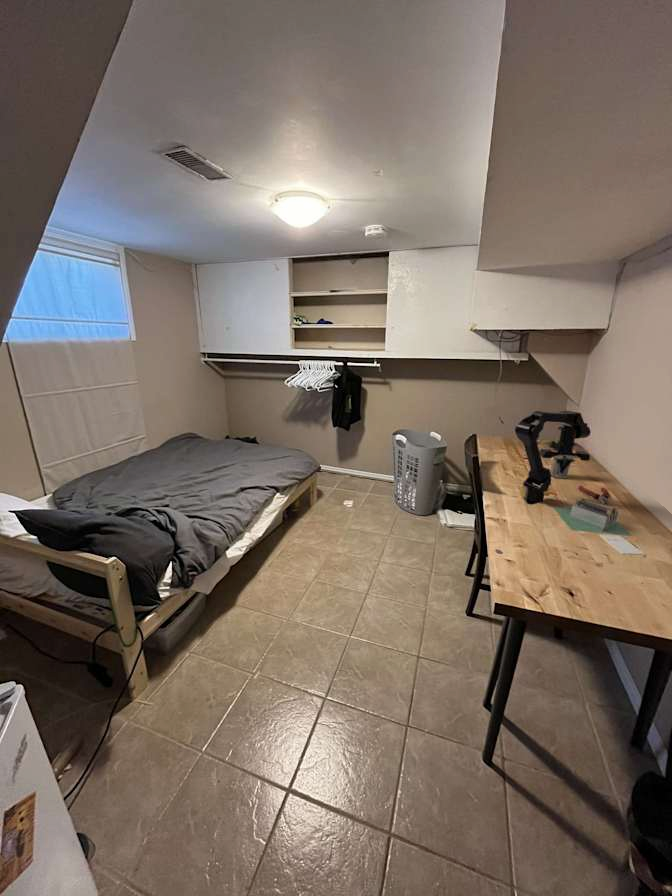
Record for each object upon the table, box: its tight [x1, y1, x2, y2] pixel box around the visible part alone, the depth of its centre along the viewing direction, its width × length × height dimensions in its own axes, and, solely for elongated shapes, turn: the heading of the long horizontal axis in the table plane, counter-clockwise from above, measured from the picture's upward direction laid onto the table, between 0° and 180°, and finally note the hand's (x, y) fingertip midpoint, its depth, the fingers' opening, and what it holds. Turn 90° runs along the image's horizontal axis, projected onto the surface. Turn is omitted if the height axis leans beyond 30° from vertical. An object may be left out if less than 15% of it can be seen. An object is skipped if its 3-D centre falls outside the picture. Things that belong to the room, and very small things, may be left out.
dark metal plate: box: [579, 499, 614, 513], centre depth 142 cm, size 11×3×1 cm, turn 32°
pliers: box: [577, 485, 613, 506], centre depth 168 cm, size 12×20×3 cm, turn 164°
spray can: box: [550, 446, 575, 480], centre depth 193 cm, size 8×8×20 cm
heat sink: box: [569, 497, 620, 531], centre depth 143 cm, size 12×12×8 cm
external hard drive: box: [598, 534, 647, 558], centre depth 127 cm, size 2×8×12 cm
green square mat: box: [552, 507, 633, 537], centre depth 144 cm, size 20×20×1 cm
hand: (560, 472), depth 165 cm, fingers closed
